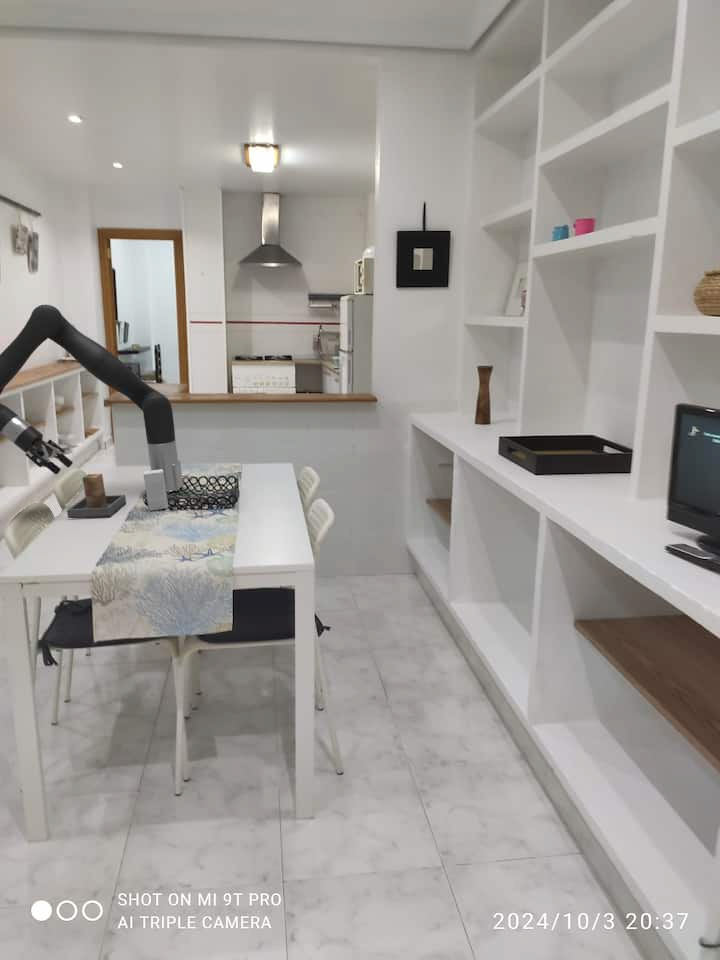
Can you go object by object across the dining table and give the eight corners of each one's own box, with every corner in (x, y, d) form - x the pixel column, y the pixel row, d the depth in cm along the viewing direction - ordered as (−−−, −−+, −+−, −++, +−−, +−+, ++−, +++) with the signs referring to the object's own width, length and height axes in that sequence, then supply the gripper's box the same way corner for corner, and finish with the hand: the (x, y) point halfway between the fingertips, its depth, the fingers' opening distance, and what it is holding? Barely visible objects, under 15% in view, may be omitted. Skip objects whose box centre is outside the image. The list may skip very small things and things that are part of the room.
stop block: (107, 507, 223) (102, 473, 220) (101, 511, 219) (96, 477, 216) (93, 507, 223) (88, 474, 220) (88, 511, 219) (82, 478, 216)
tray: (126, 503, 228) (125, 494, 227) (110, 517, 214) (108, 508, 213) (87, 505, 228) (85, 496, 227) (68, 519, 215) (66, 509, 214)
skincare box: (167, 504, 224) (163, 468, 221) (168, 508, 220) (163, 471, 217) (148, 507, 222) (143, 471, 219) (148, 511, 218) (143, 474, 215)
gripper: (17, 429, 207) (61, 465, 210) (40, 420, 221) (81, 454, 224) (3, 448, 209) (47, 483, 212) (26, 438, 223) (67, 471, 225)
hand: (64, 468), depth 218 cm, fingers open, 8 cm apart
